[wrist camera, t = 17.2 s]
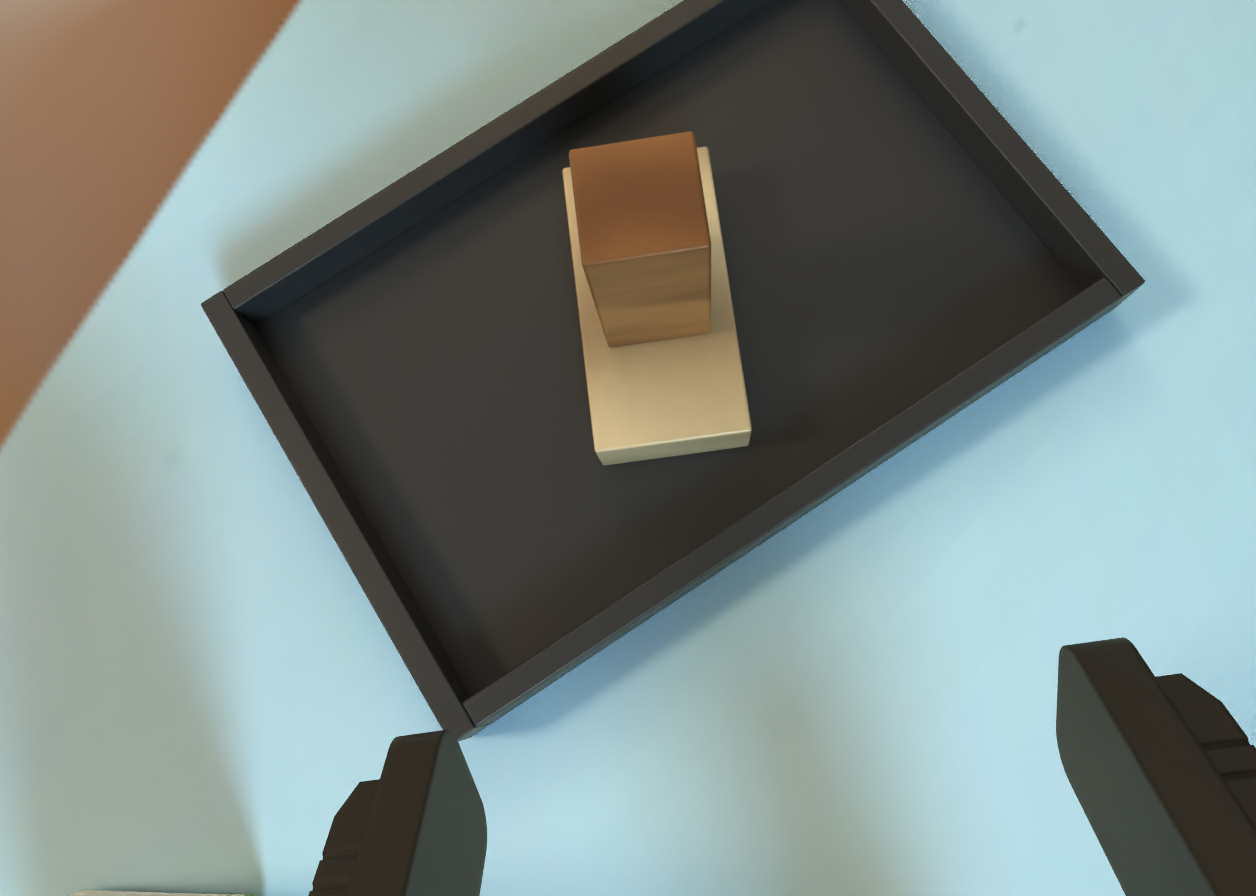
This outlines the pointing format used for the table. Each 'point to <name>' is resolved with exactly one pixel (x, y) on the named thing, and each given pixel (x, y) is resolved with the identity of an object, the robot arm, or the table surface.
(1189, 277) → the table surface
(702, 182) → the stacked wooden blocks
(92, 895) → the syrup box
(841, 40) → the tray
